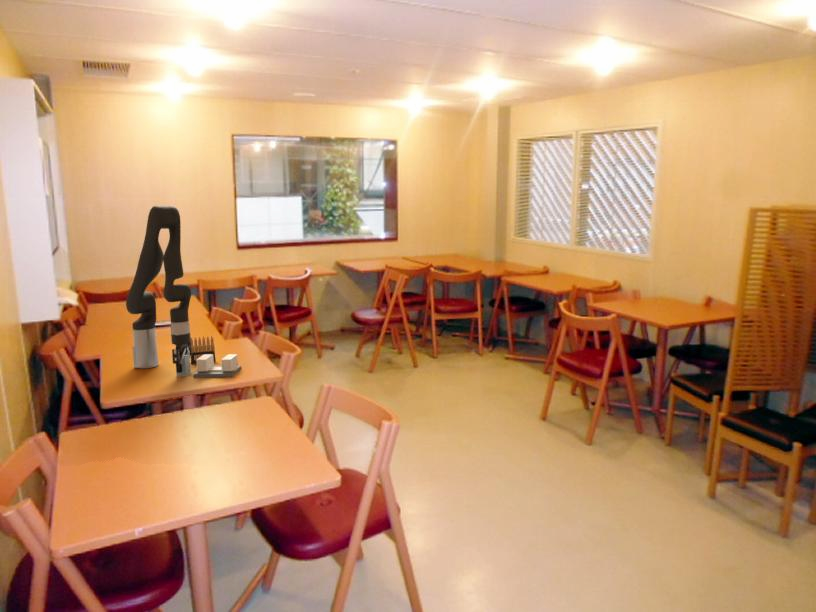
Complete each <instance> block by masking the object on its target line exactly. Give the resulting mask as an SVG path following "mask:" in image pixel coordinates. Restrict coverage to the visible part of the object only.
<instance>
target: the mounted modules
mask: <svg viewBox="0 0 816 612" xmlns="http://www.w3.org/2000/svg"><path fill="white" fill-rule="evenodd" d="M220 361H221V362H220V363H221V366H222V371H232V370H233V369H235V368H236V367H237V366H239V359H238V353H237V354H236V353H232V354H231V353H229V354H227V355H225V356H224V357H222V358H221V360H220ZM196 363H197V364H196V372H197V371H208V370H209V369H210V368H212V367H213V366H215V364H214V363H215V362H214V358H213V354H204V355H202V356H201V357H199V358H198V359H196Z"/></svg>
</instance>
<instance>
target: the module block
mask: <svg viewBox="0 0 816 612" xmlns="http://www.w3.org/2000/svg"><path fill="white" fill-rule="evenodd" d="M181 364H182V372H181V373H177V372H175V373H176V377H187V376H189V375H190V374H191V373H192V372H191V356H189V355H184V358H183V359H182V363H181Z"/></svg>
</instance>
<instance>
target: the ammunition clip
mask: <svg viewBox="0 0 816 612" xmlns="http://www.w3.org/2000/svg"><path fill="white" fill-rule="evenodd" d="M214 342H215V341H214V337H213V335H211V337H209V336H207V337H206V338H205V336H202V340H201V337H200V336H199V337H198V340H197V337H194V341H193V338H192V337H191V350H192V356H190V365H197V363H196V359H198V358H199V357H201V356H202V355H204V354H213V358H214V363H216V362H217V361H216V350H215V343H214Z"/></svg>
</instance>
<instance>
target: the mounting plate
mask: <svg viewBox="0 0 816 612" xmlns="http://www.w3.org/2000/svg"><path fill="white" fill-rule="evenodd" d="M241 370H242V365H238V366H237V367H236V368H235V369H233V370H232V371H222V365H214V366H213V367H212V368H210V369H209V370H208V371H197V370H196V372H194V373H193V378H195V379H196V378H233V377H235V376H236V375H237V374H238V373H239V372H240V371H241Z"/></svg>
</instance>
